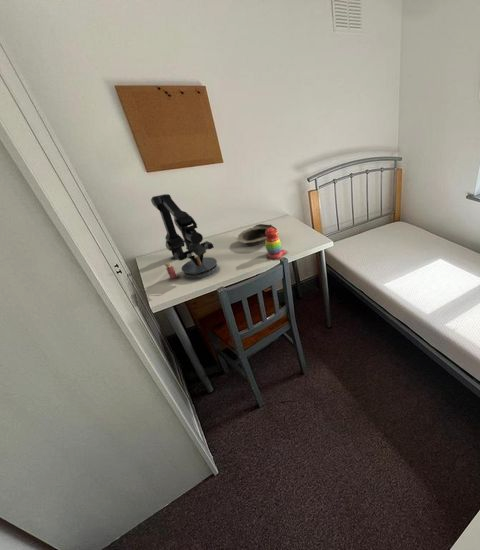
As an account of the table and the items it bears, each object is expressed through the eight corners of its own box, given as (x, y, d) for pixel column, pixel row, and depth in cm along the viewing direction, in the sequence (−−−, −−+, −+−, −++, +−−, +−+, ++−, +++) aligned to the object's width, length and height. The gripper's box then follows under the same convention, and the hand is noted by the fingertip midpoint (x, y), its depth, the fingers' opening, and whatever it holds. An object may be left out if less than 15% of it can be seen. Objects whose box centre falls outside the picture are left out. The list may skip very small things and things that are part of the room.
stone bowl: (283, 236, 205) (281, 224, 200) (266, 254, 186) (263, 241, 180) (252, 232, 210) (249, 221, 205) (232, 250, 190) (228, 237, 185)
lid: (190, 259, 169) (187, 251, 166) (221, 258, 170) (219, 249, 167) (176, 275, 154) (172, 266, 151) (210, 273, 155) (207, 264, 152)
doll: (172, 276, 160) (165, 260, 155) (179, 276, 161) (173, 260, 155) (168, 280, 157) (161, 264, 152) (176, 280, 157) (169, 264, 152)
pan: (193, 266, 170) (191, 261, 169) (222, 264, 172) (220, 260, 170) (180, 281, 156) (178, 276, 155) (212, 279, 157) (210, 274, 156)
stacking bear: (279, 259, 176) (274, 232, 166) (264, 258, 177) (258, 231, 168) (287, 251, 185) (282, 225, 175) (272, 250, 186) (267, 224, 177)
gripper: (179, 248, 143) (190, 275, 151) (215, 235, 156) (223, 261, 164) (168, 243, 148) (179, 269, 156) (203, 231, 161) (212, 256, 169)
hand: (199, 264), depth 161 cm, fingers closed on lid, 2 cm apart
